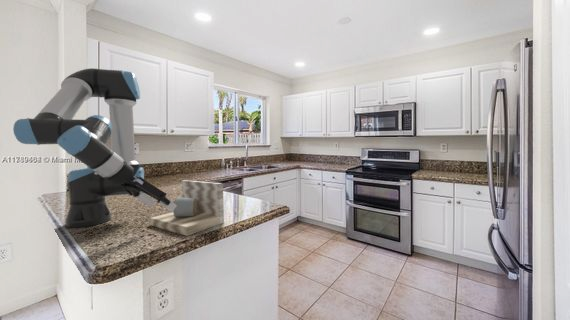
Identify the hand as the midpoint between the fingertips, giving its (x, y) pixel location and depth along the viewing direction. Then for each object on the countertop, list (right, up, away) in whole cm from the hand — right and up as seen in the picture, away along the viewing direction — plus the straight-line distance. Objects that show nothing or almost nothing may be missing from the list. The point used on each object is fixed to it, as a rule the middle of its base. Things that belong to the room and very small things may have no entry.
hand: (162, 206), depth 89 cm
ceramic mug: (+5, -6, +10) cm, 12 cm away
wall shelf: (+5, -9, +8) cm, 13 cm away
